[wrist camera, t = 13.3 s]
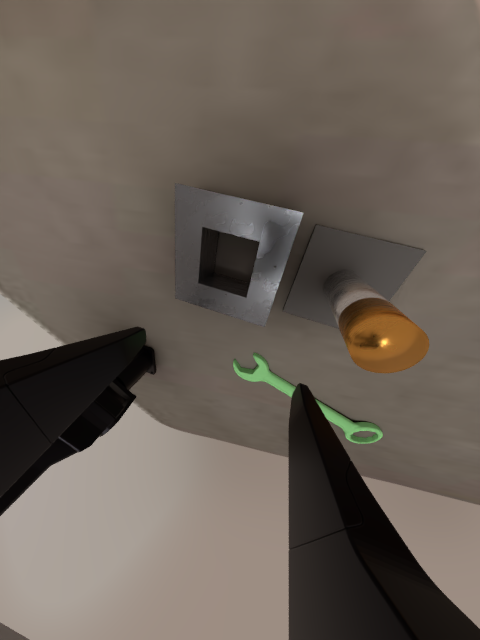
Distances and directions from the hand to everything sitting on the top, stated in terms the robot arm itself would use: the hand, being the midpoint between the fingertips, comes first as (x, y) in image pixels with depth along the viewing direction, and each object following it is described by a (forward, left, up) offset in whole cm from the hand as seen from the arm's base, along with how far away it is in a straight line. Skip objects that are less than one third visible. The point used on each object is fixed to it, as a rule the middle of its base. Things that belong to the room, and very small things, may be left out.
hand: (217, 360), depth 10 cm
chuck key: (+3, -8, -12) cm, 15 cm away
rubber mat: (+3, -8, -12) cm, 15 cm away
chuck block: (+3, +3, -12) cm, 13 cm away
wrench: (-15, -12, -13) cm, 23 cm away
